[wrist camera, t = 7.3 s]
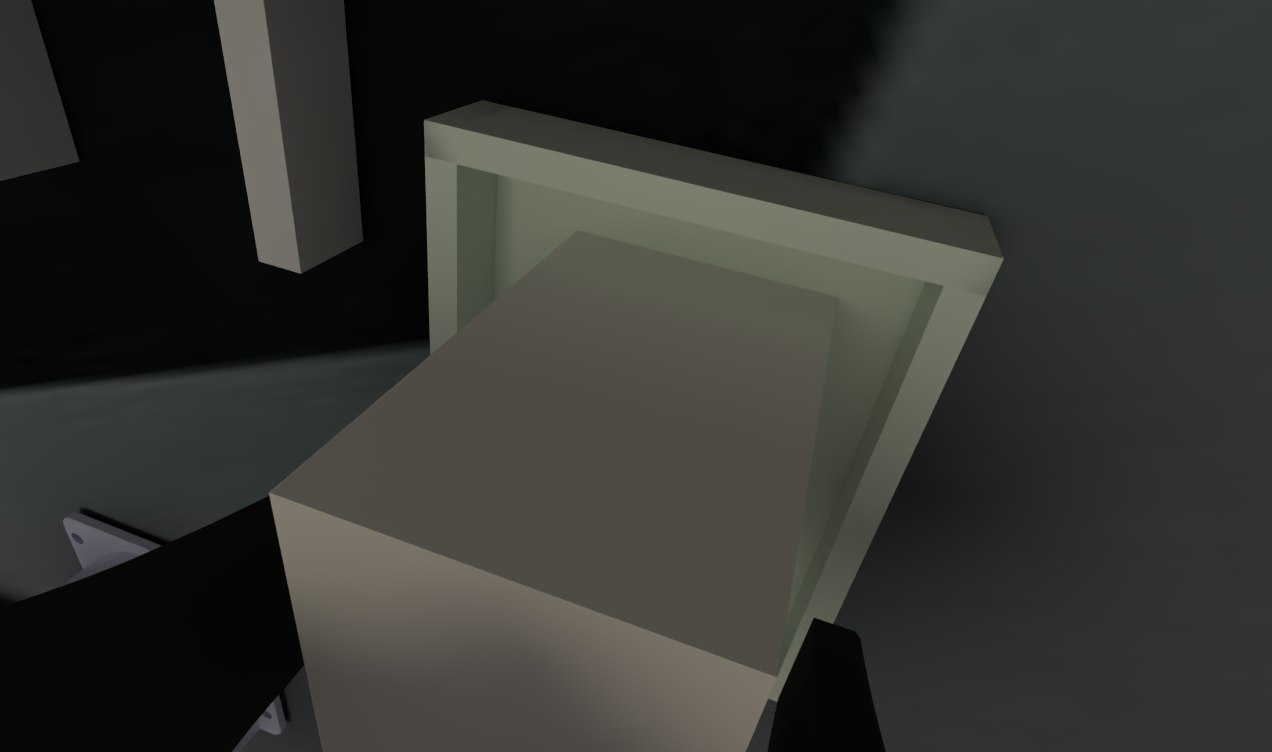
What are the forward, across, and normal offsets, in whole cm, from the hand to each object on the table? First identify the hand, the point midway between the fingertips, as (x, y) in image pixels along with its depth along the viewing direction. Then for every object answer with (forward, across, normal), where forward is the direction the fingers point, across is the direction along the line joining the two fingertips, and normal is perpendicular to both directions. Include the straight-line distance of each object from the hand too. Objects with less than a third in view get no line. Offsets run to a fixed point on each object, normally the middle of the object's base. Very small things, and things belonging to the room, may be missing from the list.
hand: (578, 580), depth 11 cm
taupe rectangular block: (+5, 0, 0) cm, 5 cm away
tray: (+5, 0, 0) cm, 5 cm away
